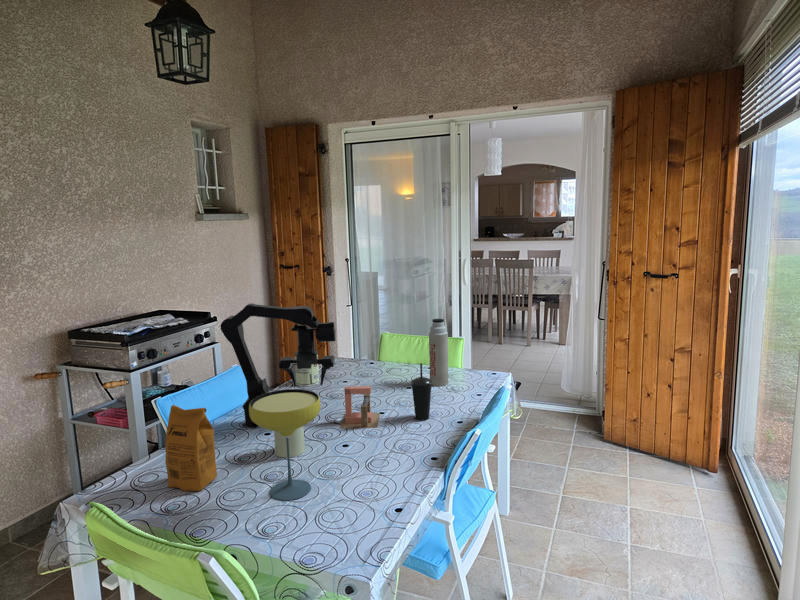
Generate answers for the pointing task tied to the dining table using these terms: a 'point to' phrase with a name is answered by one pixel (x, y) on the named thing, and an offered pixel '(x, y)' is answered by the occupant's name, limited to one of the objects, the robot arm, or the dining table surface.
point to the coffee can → (307, 374)
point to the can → (290, 443)
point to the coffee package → (190, 449)
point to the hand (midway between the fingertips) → (308, 385)
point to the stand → (363, 417)
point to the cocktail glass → (286, 428)
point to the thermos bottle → (438, 353)
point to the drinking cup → (421, 396)
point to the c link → (351, 416)
